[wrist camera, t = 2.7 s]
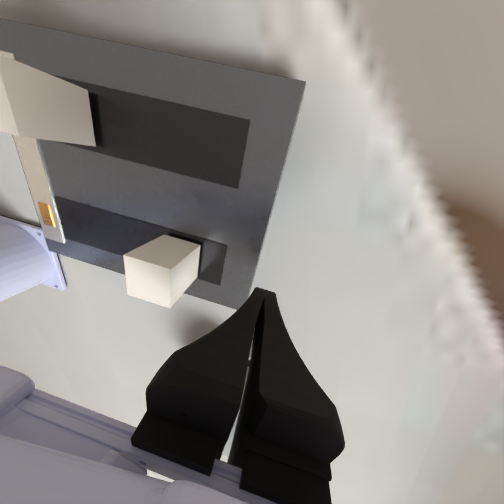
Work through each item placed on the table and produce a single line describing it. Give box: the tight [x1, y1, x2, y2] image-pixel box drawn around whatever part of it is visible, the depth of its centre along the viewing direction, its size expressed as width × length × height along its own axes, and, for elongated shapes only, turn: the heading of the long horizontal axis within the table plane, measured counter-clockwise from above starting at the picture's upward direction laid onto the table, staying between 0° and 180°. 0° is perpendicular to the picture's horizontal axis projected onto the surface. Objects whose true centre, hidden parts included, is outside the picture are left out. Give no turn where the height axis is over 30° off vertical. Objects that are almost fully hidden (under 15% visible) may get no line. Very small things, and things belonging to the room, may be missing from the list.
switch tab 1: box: [0, 54, 96, 146], centre depth 10 cm, size 3×3×4 cm
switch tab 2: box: [123, 235, 200, 308], centre depth 13 cm, size 3×3×4 cm
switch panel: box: [0, 18, 306, 310], centre depth 14 cm, size 20×16×2 cm
